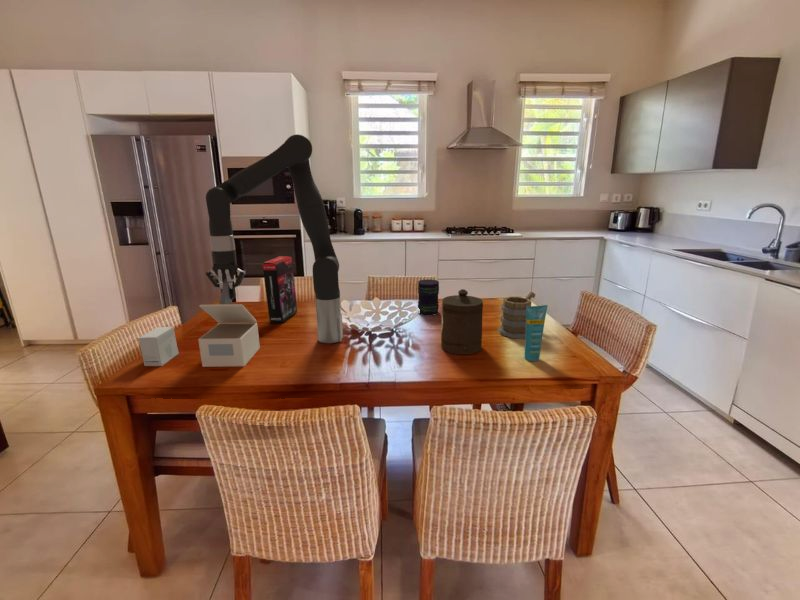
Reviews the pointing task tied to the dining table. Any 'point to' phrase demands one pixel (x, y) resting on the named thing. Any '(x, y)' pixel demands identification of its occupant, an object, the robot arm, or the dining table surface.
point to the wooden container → (461, 324)
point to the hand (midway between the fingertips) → (228, 298)
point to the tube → (534, 331)
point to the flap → (228, 309)
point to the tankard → (514, 316)
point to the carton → (229, 344)
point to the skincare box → (158, 346)
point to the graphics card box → (280, 288)
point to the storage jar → (428, 296)
